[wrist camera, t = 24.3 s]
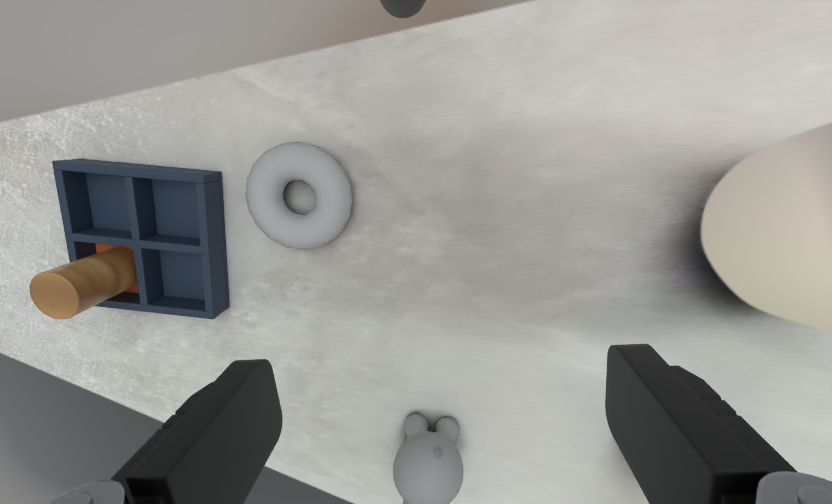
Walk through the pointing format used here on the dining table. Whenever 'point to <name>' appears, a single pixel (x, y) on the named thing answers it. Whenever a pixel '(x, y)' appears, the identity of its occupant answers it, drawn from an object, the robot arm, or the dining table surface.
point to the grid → (150, 231)
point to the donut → (315, 171)
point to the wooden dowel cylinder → (84, 282)
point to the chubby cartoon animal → (428, 462)
